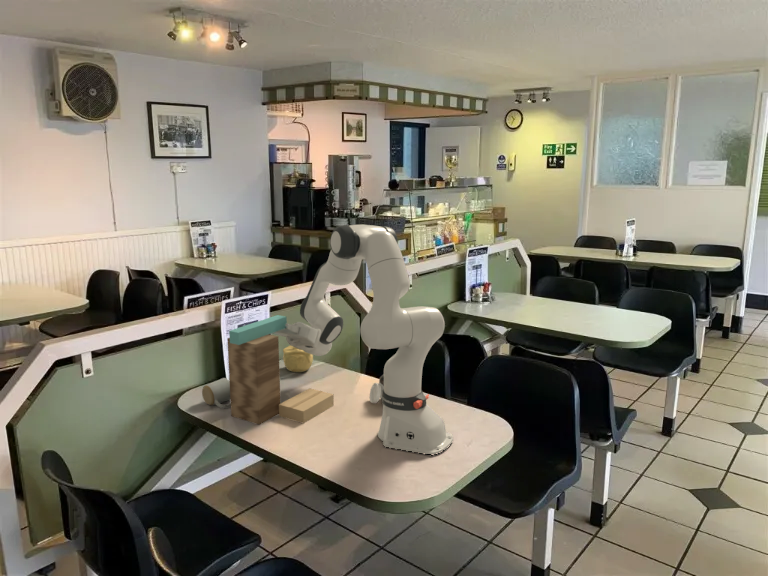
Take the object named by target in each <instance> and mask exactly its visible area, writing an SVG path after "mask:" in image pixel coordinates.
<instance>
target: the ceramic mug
mask: <svg viewBox="0 0 768 576" xmlns="http://www.w3.org/2000/svg"><path fill="white" fill-rule="evenodd" d="M201 393H202V394H201V395H202V399H203V401H204V403H205V404H206V405H208V404H209V405H208V406H217V407H219V408H220V409H230V408H231V402H230V403H228V404H221V403H224V402H227V401H231V399H230V380H229V378H226V377H222V378H220V379H218V380H217V379H216V380H215V381H213V382H210V383H207V384H206V385H204V386H203V387H202V391H201Z"/></svg>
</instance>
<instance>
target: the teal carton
mask: <svg viewBox="0 0 768 576" xmlns="http://www.w3.org/2000/svg"><path fill="white" fill-rule="evenodd" d="M285 324H288V323H287V316H285V315H280V314H279V315H278V314H277V315H273V316H271V317H270V316H269V317H266V318H264V319H262V320H257V321H255V322H252V323H249V324H245V325H243V326H239V327H237V328H233V329H231V330H228V333H229V334H228V335H229V338H230V343H232V344H237V345H240V344H243V343H246V342H249V341H251V340H254V339H257V338H260V337H263V336H265V335H268V334H271V335H272V333H274V332H276V331H279V330H282V329H285Z"/></svg>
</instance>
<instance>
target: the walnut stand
mask: <svg viewBox="0 0 768 576" xmlns="http://www.w3.org/2000/svg"><path fill="white" fill-rule="evenodd" d="M279 342H280V341H279V335H275V334H271V335H269V334H268V335H265V336H263V337H260V338H257V339H254V340H251V341H249V342H246V343H243V344H240V345H237V344H232V343H230V337H227V357H228V359H227V360H228V376H229V378H228V380H229V381H230V399H231V400H230V403H231V407H230V412H231V413H230V416H231V417H234V418H237V419H239V420H243V421H247V422H248V423H249V422H250V423H252V424H256V425H259V426H260V425H263V424H264V423H265V422H267V421H269V420H271V419H273V418H275V417H276V416H279V404H281V403H282V402H281V380H280V379H281V377H280V372H281V371H280V352H279V351H280V348H279V347H280V345H279V344H280V343H279Z"/></svg>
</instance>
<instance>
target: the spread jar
mask: <svg viewBox="0 0 768 576" xmlns="http://www.w3.org/2000/svg"><path fill="white" fill-rule="evenodd" d="M383 389H384V373H383V374H382V375H381V376H380V377H379V379H378V382H374V383H372V386H371V388H370V391H369V402H370V403H371V404H378V402H379V401H382V390H383Z"/></svg>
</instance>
